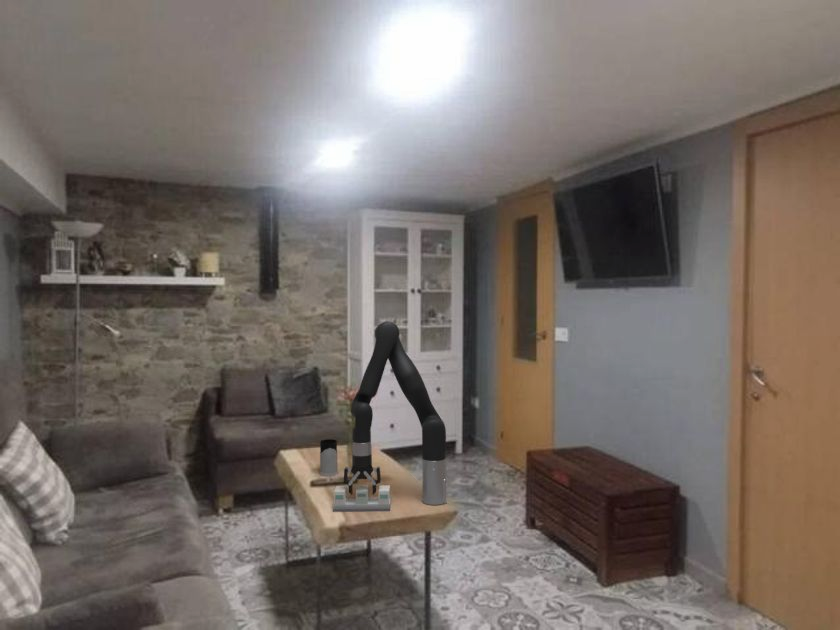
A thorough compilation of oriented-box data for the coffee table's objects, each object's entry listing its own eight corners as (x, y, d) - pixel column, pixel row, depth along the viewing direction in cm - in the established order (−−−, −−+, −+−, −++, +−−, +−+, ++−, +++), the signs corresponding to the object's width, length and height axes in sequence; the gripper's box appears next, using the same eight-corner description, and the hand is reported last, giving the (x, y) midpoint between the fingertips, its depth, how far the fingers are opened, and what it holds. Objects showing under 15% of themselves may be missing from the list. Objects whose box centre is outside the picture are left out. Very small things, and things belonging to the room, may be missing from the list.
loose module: (368, 498, 235) (368, 485, 235) (367, 504, 228) (367, 491, 228) (357, 498, 235) (357, 485, 235) (355, 504, 228) (355, 491, 228)
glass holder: (320, 477, 269) (320, 444, 269) (316, 468, 283) (316, 437, 282) (339, 475, 272) (339, 442, 271) (335, 466, 285) (334, 435, 285)
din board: (391, 500, 238) (390, 483, 237) (389, 511, 226) (389, 493, 225) (336, 500, 237) (336, 484, 237) (332, 511, 225) (332, 494, 225)
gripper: (380, 450, 235) (381, 490, 235) (344, 450, 234) (345, 491, 235) (379, 455, 227) (380, 497, 228) (342, 455, 227) (343, 497, 227)
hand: (362, 494), depth 231 cm, fingers open, 8 cm apart
